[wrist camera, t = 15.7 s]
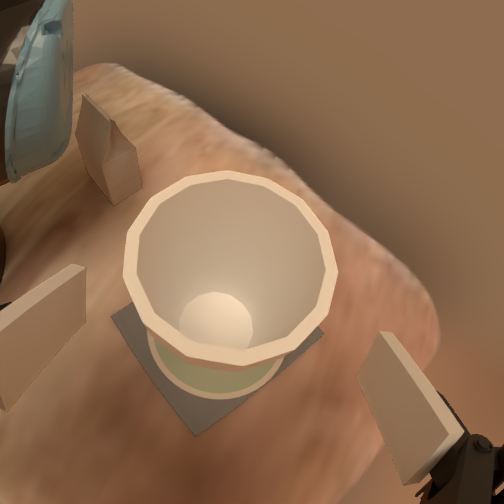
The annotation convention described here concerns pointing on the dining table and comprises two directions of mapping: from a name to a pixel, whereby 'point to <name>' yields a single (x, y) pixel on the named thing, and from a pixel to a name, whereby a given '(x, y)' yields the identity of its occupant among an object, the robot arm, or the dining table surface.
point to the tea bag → (107, 153)
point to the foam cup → (229, 270)
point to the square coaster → (198, 375)
